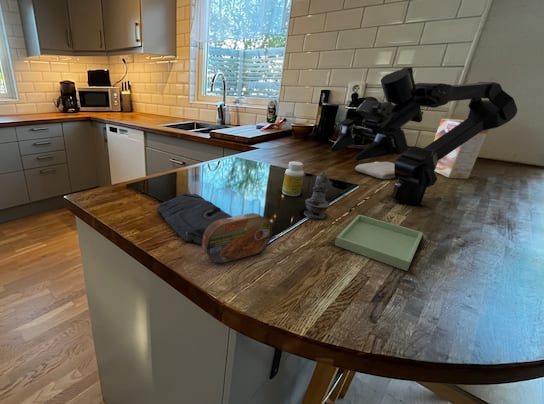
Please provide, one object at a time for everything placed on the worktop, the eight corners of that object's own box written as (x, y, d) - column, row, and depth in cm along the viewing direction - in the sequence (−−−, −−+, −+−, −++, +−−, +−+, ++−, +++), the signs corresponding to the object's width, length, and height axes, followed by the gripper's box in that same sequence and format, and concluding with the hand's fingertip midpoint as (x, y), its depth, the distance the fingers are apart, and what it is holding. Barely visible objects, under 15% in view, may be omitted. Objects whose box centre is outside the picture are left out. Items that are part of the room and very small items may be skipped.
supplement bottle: (291, 197, 89) (296, 166, 85) (278, 191, 93) (282, 161, 90) (303, 194, 91) (309, 164, 88) (290, 189, 96) (295, 160, 92)
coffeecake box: (423, 166, 124) (440, 118, 116) (442, 167, 123) (460, 119, 115) (447, 177, 110) (468, 124, 102) (469, 179, 109) (491, 125, 101)
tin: (206, 267, 56) (208, 227, 53) (198, 258, 59) (200, 220, 55) (270, 251, 62) (276, 214, 58) (261, 243, 64) (266, 208, 61)
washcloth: (414, 175, 112) (417, 167, 111) (383, 181, 105) (385, 172, 104) (384, 167, 122) (386, 159, 121) (353, 171, 115) (355, 163, 114)
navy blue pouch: (202, 199, 87) (202, 184, 85) (249, 233, 69) (251, 214, 67) (153, 208, 80) (152, 192, 78) (191, 248, 62) (191, 228, 60)
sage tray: (356, 221, 75) (358, 214, 74) (420, 240, 67) (423, 232, 66) (334, 245, 64) (336, 237, 64) (407, 271, 56) (410, 262, 55)
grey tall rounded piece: (322, 210, 81) (331, 168, 76) (330, 220, 75) (340, 175, 71) (300, 209, 81) (308, 167, 76) (306, 219, 76) (315, 174, 71)
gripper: (358, 89, 81) (310, 123, 82) (421, 93, 64) (360, 136, 66) (369, 122, 86) (324, 155, 87) (431, 134, 69) (374, 174, 70)
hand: (343, 154), depth 77 cm, fingers open, 9 cm apart
